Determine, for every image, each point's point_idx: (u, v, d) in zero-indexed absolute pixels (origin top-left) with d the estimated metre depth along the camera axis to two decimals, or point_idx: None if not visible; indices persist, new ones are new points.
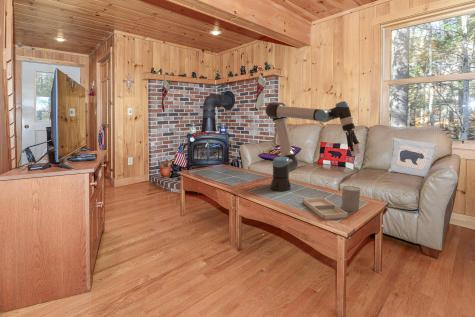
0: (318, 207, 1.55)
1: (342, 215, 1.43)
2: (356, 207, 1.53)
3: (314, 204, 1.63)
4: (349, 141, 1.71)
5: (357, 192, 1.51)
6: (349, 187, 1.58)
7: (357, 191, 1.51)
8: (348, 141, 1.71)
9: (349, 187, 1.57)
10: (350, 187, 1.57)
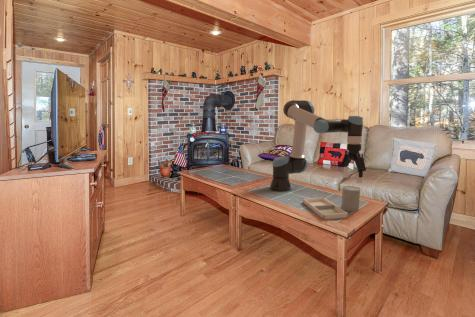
0: (318, 207, 1.55)
1: (342, 215, 1.43)
2: (356, 207, 1.53)
3: (314, 204, 1.63)
4: (363, 165, 1.44)
5: (357, 192, 1.51)
6: (349, 187, 1.58)
7: (357, 191, 1.51)
8: (362, 165, 1.44)
9: (349, 187, 1.57)
10: (350, 187, 1.57)
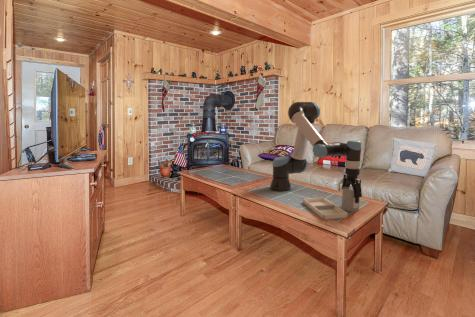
0: (318, 207, 1.55)
1: (342, 215, 1.43)
2: None
3: (314, 204, 1.63)
4: (359, 192, 1.48)
5: None
6: (349, 187, 1.58)
7: None
8: (358, 192, 1.47)
9: (349, 187, 1.57)
10: (350, 187, 1.57)
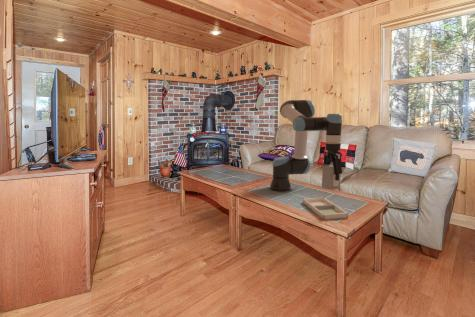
0: (318, 207, 1.55)
1: (342, 215, 1.43)
2: None
3: (314, 204, 1.63)
4: (339, 168, 1.37)
5: None
6: (330, 164, 1.47)
7: None
8: (338, 168, 1.37)
9: (329, 165, 1.47)
10: (331, 164, 1.47)
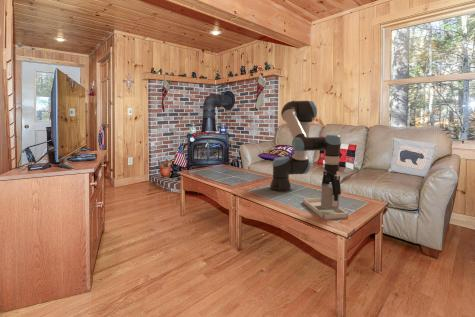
0: (318, 207, 1.55)
1: (342, 215, 1.43)
2: None
3: (314, 204, 1.63)
4: (338, 189, 1.39)
5: None
6: (329, 184, 1.49)
7: None
8: (337, 189, 1.39)
9: (328, 184, 1.49)
10: (330, 184, 1.49)
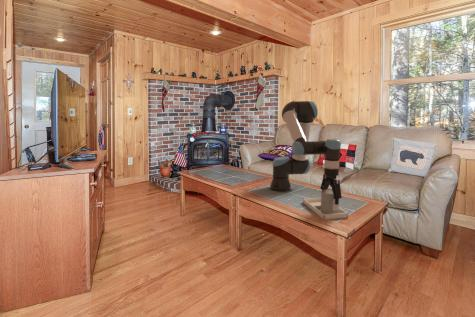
0: (318, 207, 1.55)
1: (342, 215, 1.43)
2: (335, 211, 1.45)
3: (314, 204, 1.63)
4: (339, 193, 1.38)
5: None
6: (328, 190, 1.50)
7: None
8: (338, 192, 1.38)
9: (328, 190, 1.49)
10: (329, 190, 1.50)
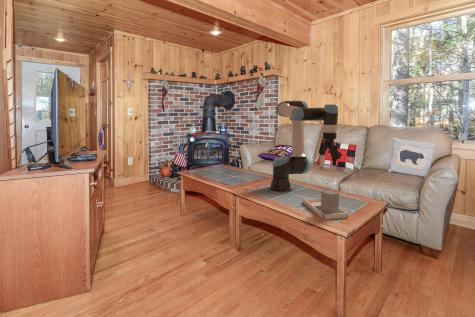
0: (318, 207, 1.55)
1: (342, 215, 1.43)
2: (335, 211, 1.45)
3: (314, 204, 1.63)
4: (336, 154, 1.45)
5: (336, 196, 1.43)
6: (328, 190, 1.50)
7: (336, 195, 1.43)
8: (335, 153, 1.45)
9: (328, 190, 1.49)
10: (329, 190, 1.50)
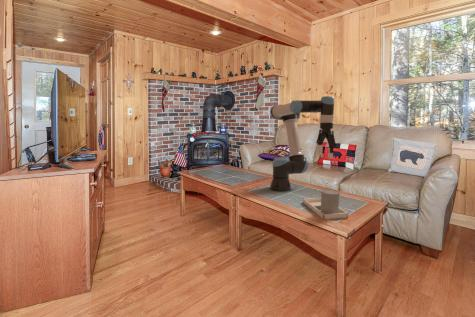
0: (318, 207, 1.55)
1: (342, 215, 1.43)
2: (335, 211, 1.45)
3: (314, 204, 1.63)
4: (333, 142, 1.56)
5: (336, 196, 1.43)
6: (328, 190, 1.50)
7: (336, 195, 1.43)
8: (332, 141, 1.56)
9: (328, 190, 1.49)
10: (329, 190, 1.50)
